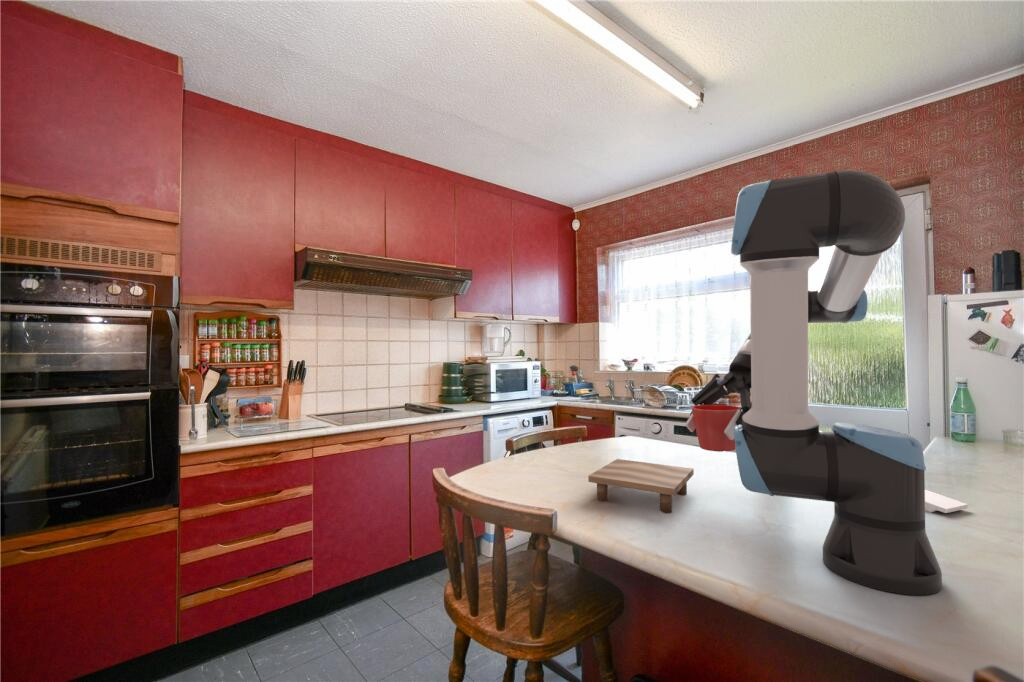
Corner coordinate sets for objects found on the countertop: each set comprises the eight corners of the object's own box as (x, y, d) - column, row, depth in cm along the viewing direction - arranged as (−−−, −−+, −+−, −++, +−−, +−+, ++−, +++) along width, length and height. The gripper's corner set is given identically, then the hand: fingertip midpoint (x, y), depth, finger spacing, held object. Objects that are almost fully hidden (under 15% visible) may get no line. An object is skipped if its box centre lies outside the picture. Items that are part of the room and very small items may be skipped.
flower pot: (682, 445, 112) (681, 405, 112) (720, 442, 115) (719, 403, 115) (713, 455, 102) (712, 411, 102) (753, 451, 105) (752, 408, 105)
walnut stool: (674, 516, 100) (674, 488, 100) (588, 500, 111) (588, 475, 111) (693, 492, 117) (693, 468, 117) (617, 480, 128) (617, 458, 128)
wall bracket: (962, 536, 104) (836, 485, 129) (971, 505, 103) (843, 460, 129) (938, 532, 100) (813, 481, 126) (947, 499, 100) (820, 455, 126)
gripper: (804, 374, 105) (761, 451, 98) (719, 370, 126) (678, 434, 119) (789, 352, 103) (743, 429, 96) (705, 351, 124) (662, 415, 117)
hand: (707, 432), depth 108 cm, fingers closed on flower pot, 10 cm apart
